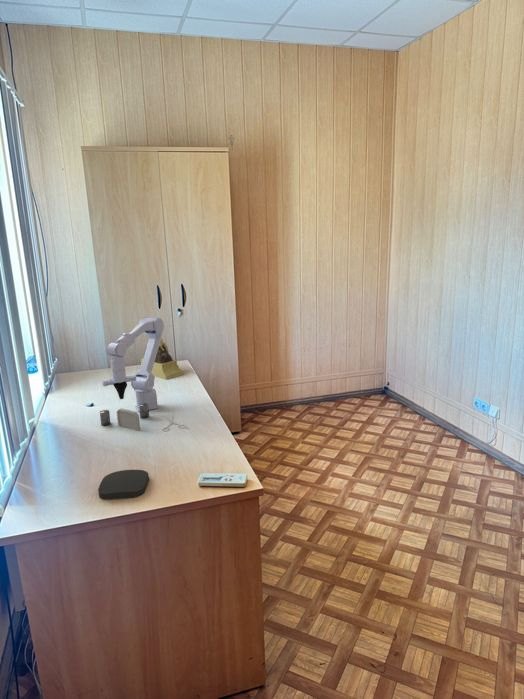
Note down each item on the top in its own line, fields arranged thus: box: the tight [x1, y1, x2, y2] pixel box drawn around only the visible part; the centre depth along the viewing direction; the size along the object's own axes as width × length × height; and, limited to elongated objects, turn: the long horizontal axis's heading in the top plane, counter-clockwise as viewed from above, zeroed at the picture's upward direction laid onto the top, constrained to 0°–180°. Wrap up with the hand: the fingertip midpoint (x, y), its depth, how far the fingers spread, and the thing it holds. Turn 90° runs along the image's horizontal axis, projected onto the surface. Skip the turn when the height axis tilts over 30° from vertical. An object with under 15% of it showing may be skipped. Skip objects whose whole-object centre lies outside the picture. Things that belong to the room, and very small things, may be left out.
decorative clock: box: [138, 337, 185, 380], centre depth 282 cm, size 28×13×30 cm, turn 46°
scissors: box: [162, 414, 190, 432], centre depth 206 cm, size 11×1×20 cm
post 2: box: [139, 403, 150, 420], centre depth 213 cm, size 4×4×6 cm
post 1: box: [99, 409, 112, 427], centre depth 206 cm, size 4×4×6 cm
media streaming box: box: [97, 469, 150, 501], centre depth 153 cm, size 15×15×3 cm
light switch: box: [116, 408, 141, 432], centre depth 202 cm, size 2×12×8 cm, turn 58°
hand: (121, 398), depth 211 cm, fingers closed
